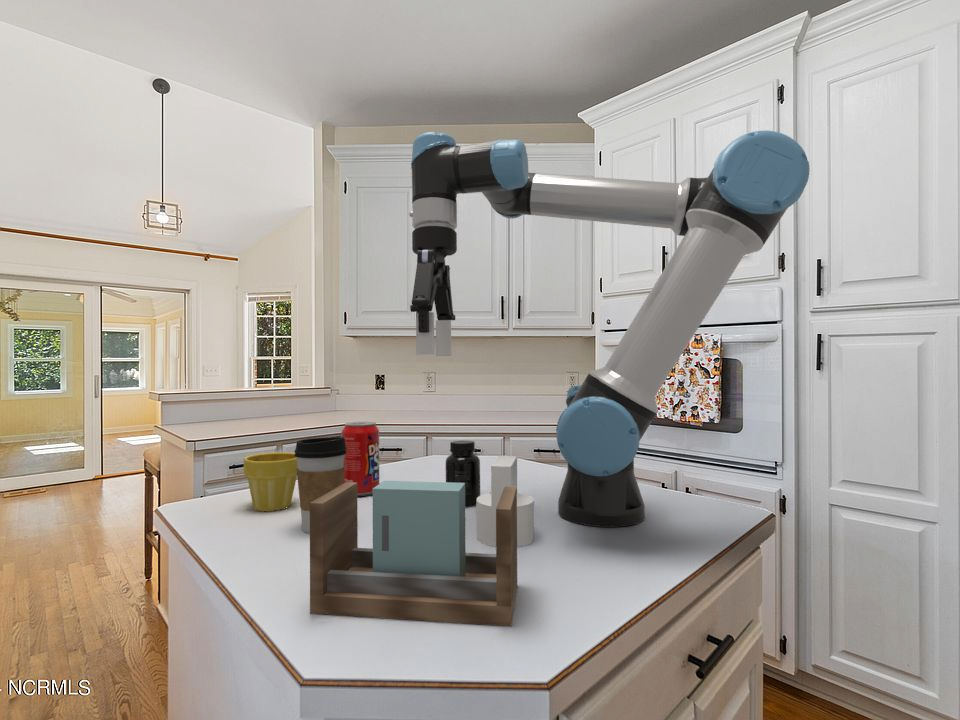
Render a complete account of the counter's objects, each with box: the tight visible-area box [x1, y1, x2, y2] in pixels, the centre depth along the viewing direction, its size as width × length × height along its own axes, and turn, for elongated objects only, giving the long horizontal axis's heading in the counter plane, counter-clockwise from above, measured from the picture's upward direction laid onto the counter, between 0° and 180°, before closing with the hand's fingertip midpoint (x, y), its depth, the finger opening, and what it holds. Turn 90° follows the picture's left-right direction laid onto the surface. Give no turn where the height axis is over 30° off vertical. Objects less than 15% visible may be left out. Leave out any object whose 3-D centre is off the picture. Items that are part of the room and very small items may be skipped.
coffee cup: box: [293, 436, 347, 534], centre depth 85 cm, size 8×8×15 cm
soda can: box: [340, 421, 380, 498], centre depth 108 cm, size 8×8×15 cm
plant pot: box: [243, 451, 298, 512], centre depth 98 cm, size 10×10×10 cm
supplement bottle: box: [445, 440, 481, 508], centre depth 100 cm, size 7×7×12 cm
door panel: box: [372, 480, 467, 577], centre depth 59 cm, size 10×4×11 cm, turn 82°
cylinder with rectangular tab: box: [475, 455, 535, 548], centre depth 79 cm, size 9×9×12 cm
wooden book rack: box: [309, 482, 518, 627], centre depth 59 cm, size 22×10×12 cm, turn 82°
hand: (435, 355), depth 85 cm, fingers open, 13 cm apart
